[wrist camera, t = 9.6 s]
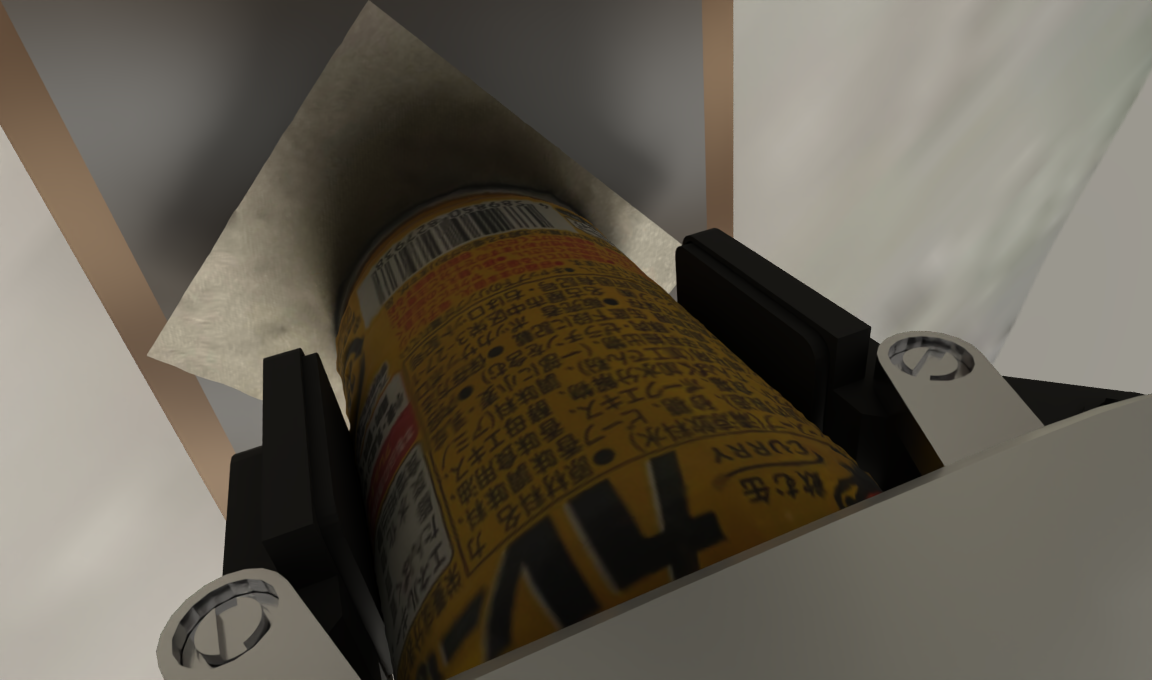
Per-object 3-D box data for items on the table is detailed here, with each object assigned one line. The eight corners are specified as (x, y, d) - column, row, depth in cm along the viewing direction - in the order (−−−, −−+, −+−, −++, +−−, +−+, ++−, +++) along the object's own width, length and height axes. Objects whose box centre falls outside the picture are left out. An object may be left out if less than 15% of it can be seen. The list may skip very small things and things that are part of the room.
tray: (-90, -172, 12) (-203, -207, 9) (658, -244, 15) (745, -286, 12) (285, 549, 21) (286, 639, 18) (687, 406, 25) (740, 464, 22)
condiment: (509, 486, 17) (821, 1189, 8) (147, 351, 12) (-260, 1793, 3) (692, 252, 16) (1360, 745, 6) (365, -3, 11) (1062, 418, 1)
